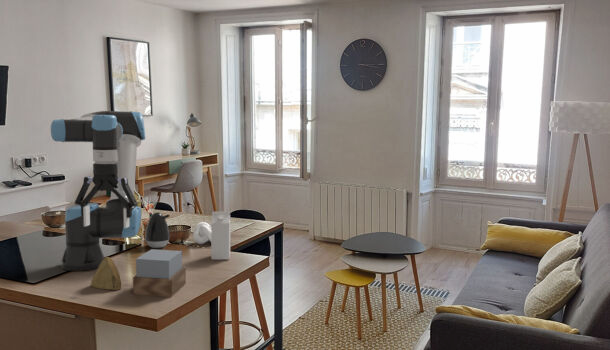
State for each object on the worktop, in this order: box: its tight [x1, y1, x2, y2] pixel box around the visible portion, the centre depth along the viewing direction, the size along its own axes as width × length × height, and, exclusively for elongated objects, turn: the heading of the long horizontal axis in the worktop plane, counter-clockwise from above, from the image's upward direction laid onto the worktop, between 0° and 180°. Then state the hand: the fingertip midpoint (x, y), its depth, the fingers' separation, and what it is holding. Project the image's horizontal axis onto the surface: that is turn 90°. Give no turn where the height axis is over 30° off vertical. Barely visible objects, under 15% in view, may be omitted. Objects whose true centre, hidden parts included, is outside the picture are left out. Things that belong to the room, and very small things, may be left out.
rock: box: [89, 255, 122, 291], centre depth 176 cm, size 11×9×10 cm
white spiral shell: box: [192, 221, 211, 245], centre depth 237 cm, size 11×12×9 cm
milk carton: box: [210, 211, 231, 261], centre depth 214 cm, size 7×7×19 cm
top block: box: [135, 248, 183, 279], centre depth 175 cm, size 11×12×6 cm
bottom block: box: [132, 267, 187, 298], centre depth 176 cm, size 13×13×6 cm
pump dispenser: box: [144, 212, 170, 249], centre depth 228 cm, size 10×10×15 cm
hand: (106, 226), depth 174 cm, fingers open, 13 cm apart
